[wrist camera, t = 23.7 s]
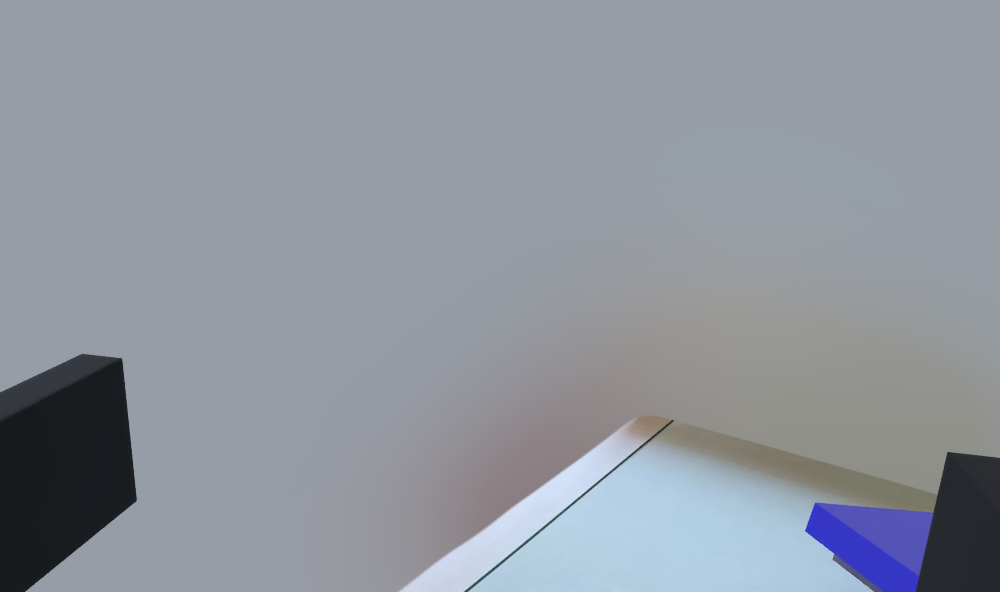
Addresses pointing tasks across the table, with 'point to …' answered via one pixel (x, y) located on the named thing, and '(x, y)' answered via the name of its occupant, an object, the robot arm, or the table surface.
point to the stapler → (874, 543)
